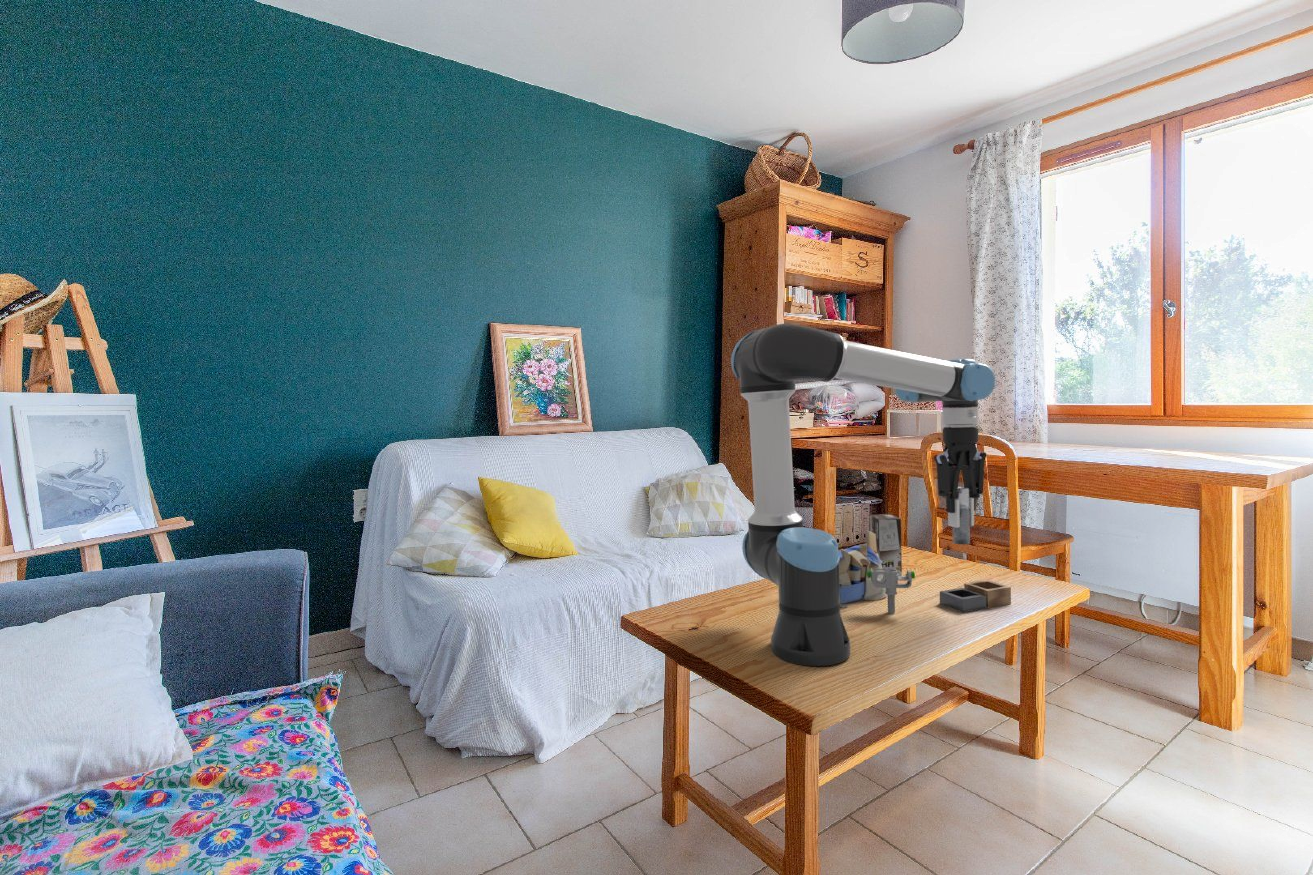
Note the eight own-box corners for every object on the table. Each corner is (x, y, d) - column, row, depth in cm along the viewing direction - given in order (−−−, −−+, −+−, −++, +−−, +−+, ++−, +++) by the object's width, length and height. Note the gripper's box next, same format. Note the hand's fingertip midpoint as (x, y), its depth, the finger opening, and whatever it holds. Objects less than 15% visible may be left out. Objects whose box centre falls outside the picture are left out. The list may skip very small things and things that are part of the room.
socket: (962, 612, 145) (962, 599, 144) (939, 603, 151) (939, 591, 151) (986, 608, 147) (986, 595, 147) (962, 599, 153) (962, 587, 153)
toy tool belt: (829, 619, 144) (828, 549, 143) (779, 601, 158) (778, 538, 157) (902, 597, 158) (901, 533, 157) (850, 583, 172) (849, 524, 171)
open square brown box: (988, 607, 147) (987, 590, 147) (964, 599, 154) (964, 583, 153) (1010, 603, 149) (1010, 587, 149) (986, 595, 156) (986, 579, 156)
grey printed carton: (903, 576, 176) (901, 518, 175) (879, 576, 176) (878, 519, 175) (892, 567, 185) (891, 513, 184) (870, 568, 185) (869, 513, 184)
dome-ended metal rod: (961, 545, 146) (960, 489, 145) (949, 542, 149) (948, 487, 149) (973, 543, 147) (972, 488, 146) (961, 540, 150) (960, 486, 150)
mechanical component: (916, 615, 144) (915, 572, 143) (869, 614, 146) (868, 571, 145) (913, 611, 146) (912, 568, 146) (867, 610, 148) (866, 568, 148)
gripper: (943, 427, 141) (944, 531, 142) (1001, 424, 146) (1001, 525, 147) (919, 427, 148) (920, 526, 149) (975, 424, 153) (976, 520, 154)
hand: (961, 525), depth 148 cm, fingers closed on dome-ended metal rod, 4 cm apart
